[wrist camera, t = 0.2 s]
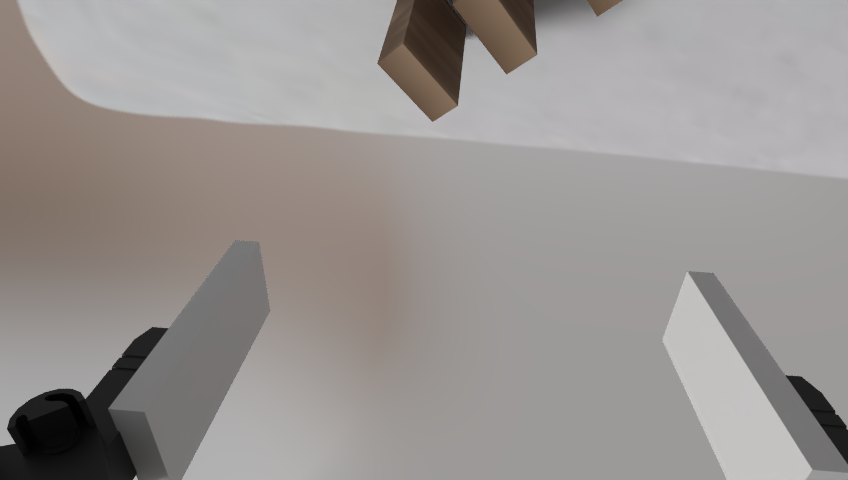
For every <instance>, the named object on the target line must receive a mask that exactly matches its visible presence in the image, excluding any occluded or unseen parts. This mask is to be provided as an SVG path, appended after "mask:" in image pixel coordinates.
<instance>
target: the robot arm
mask: <svg viewBox="0 0 848 480" xmlns="http://www.w3.org/2000/svg"><path fill="white" fill-rule="evenodd" d="M269 312H270V307H269V300H268V294H267V288H266V282H265V276H264V269H263V263H262V257H261V251H260V245H259V242H254V241H240V240H235V241H234V242H233V244H232V245H231V247H230V248H229V249H228V250H227V252H226V253H225V254H224V256H223V257H222V259H221V260H220V261H219V263H218V264H217V265H216V266H215V268H214V269H213V271H212V272H211V273H210V274H209V276H208V277H207V278H206V280H205V281H204V282H203V284H202V285H201V286H200V288H199V289H198V290H197V292H196V293H195V294H194V296H193V297H192V298H191V300H190V301H189V302H188V304H187V305H186V306H185V308H184V309H183V310H182V312H181V313H180V314H179V315H178V317H177V318H176V320H175V321H174V322H173V323H172V325H171V326H170V327H169V328H156V327H152V328H151V329H149V330H148V331H146V332H145V333H143V334H142V335H140V336H139V337H138V338H136V339H135V340H134V341H133V342H132V343H131V345H130V346H129V347H128V348H127V349H126V351H125V352H124V353H123V354H122V358H119V359H118V360H117V362H116V363H115V364H114V365H113V366H112V370H109V371H108V373H107V374H106V375H105V376H104V377H103V379H102V380H101V381H100V382H99V384H98V385H97V386H96V387H95V388H94V390H93V391H92V392H91V393H90V395H89V396H88V397H87V398H86V399H85V398H84V397H83V396H82V394H81V392H78V391H76V390H73V389H57V390H53V391H49V392H45V393H43V394H41V395H38V396H36V397H34V398H32V399H30V400H29V401H28V402H26V403H25V404H24V405H22V406H21V407H20V408H18V409H17V411H16V412H15V413H14V414H13V416H12V417H11V418H10V420H9V424H8V427H7V430H8V431H9V433H10V434H11V436H12V438H13V440H14V442H15V443H16V444H11V445H6V446H0V480H133V479H134V477H135V476H137V478H138V480H182V478H183V476H184V474H185V472H186V470H187V468H188V466H189V464H190V462H191V460H192V459H193V457H194V455H195V453H196V451H197V449H198V447H199V445H200V443H201V442H202V440H203V438H204V436H205V434H206V432H207V430H208V428H209V426H210V424H211V422H212V421H213V419H214V417H215V415H216V413H217V411H218V409H219V407H220V405H221V403H222V401H223V400H224V398H225V396H226V394H227V391H228V390H229V388H230V386H231V384H232V382H233V380H234V378H235V377H236V375H237V373H238V371H239V369H240V367H241V365H242V363H243V361H244V359H245V358H246V356H247V354H248V352H249V350H250V348H251V346H252V344H253V342H254V340H255V338H256V336H257V335H258V333H259V331H260V329H261V327H262V325H263V323H264V321H265V319H266V317H267V316H268V314H269ZM662 341H663V343H664V345H665V347H666V349H667V351H668V354H669V356H670V358H671V360H672V362H673V364H674V366H675V369H676V371H677V373H678V375H679V377H680V379H681V381H682V384H683V386H684V388H685V390H686V392H687V394H688V397H689V399H690V401H691V403H692V405H693V407H694V409H695V412H696V414H697V416H698V418H699V420H700V423H701V425H702V427H703V429H704V431H705V433H706V435H707V438H708V440H709V442H710V444H711V446H712V448H713V451H714V453H715V455H716V457H717V459H718V461H719V464H720V466H721V468H722V470H723V472H724V474H725V476H726V479H727V480H848V430H847V429H846V425H845V424H844V422H843V421H842V419H841V418H840V417H839V416H838V415H836V414H835V410H834V409H833V408H832V406H831V405H830V404H829V402H828V401H827V400H826V398H825V397H824V396H823V394H822V393H821V392H820V391H818V390H817V389H816V388H815V387H813V386H812V385H811V384H810V383H808V382H807V381H806V380H805V379H803V378H802V377H800V376H787V375H785V374H784V373H783V371H782V370H781V369H780V367H779V366H778V364H777V363H776V362H775V360H774V359H773V357H772V356H771V354H770V353H769V351H768V350H767V349H766V347H765V346H764V344H763V343H762V341H761V340H760V339H759V337H758V336H757V334H756V333H755V332H754V330H753V329H752V327H751V326H750V324H749V323H748V322H747V320H746V319H745V318H744V316H743V315H742V313H741V312H740V310H739V309H738V307H737V306H736V305H735V303H734V302H733V300H732V299H731V297H730V296H729V294H728V293H727V292H726V290H725V289H724V287H723V286H722V284H721V283H720V282H719V280H718V279H717V277H716V276H715V274H714V273H705V272H691V271H690V272H689V271H687V274H686V276H685V279H684V282H683V285H682V287H681V290H680V293H679V296H678V298H677V301H676V304H675V307H674V310H673V312H672V315H671V318H670V321H669V323H668V326H667V329H666V331H665V334H664V337H663V340H662Z"/></svg>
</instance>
